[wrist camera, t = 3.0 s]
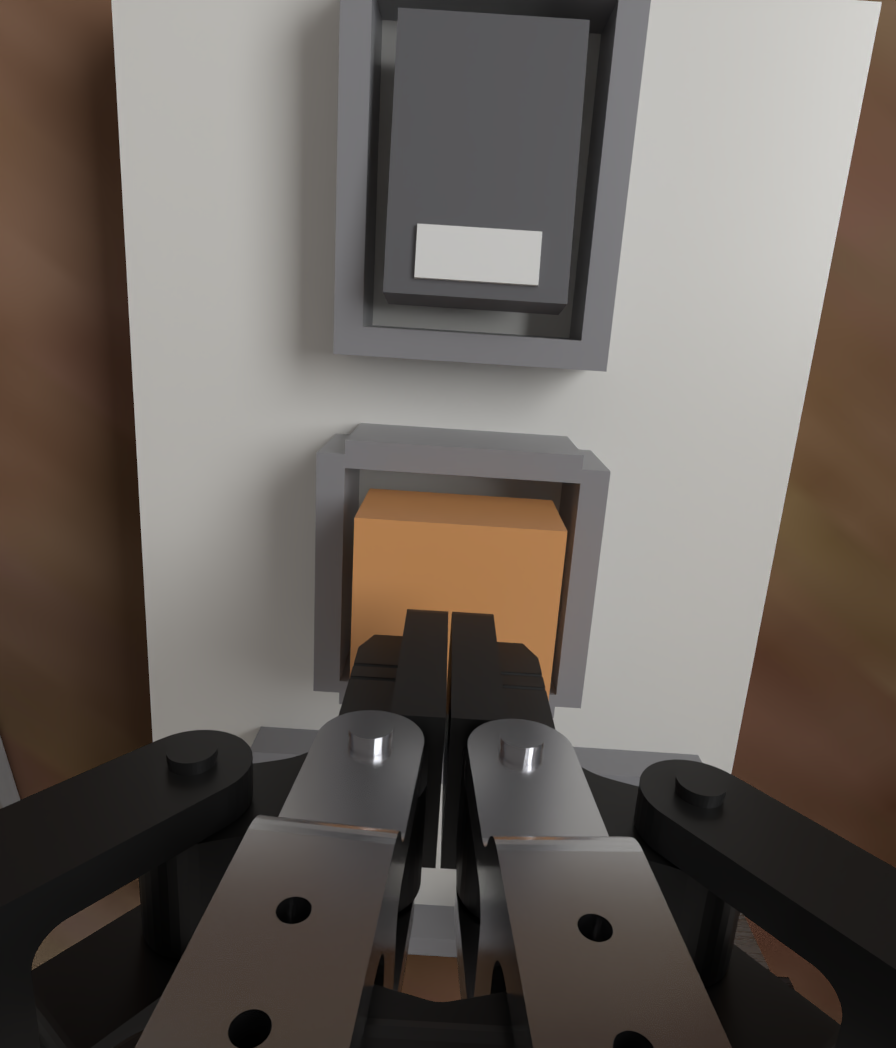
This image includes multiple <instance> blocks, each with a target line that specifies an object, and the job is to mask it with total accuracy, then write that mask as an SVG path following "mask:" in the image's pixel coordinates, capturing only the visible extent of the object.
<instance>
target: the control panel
mask: <svg viewBox="0 0 896 1048" xmlns="http://www.w3.org/2000/svg"><path fill="white" fill-rule="evenodd" d="M111 1H112V19H113V37H114V55H115V73H116V91H117V109H118V127H119V145H120V163H121V180H122V198H123V216H124V234H125V252H126V270H127V288H128V306H129V324H130V342H131V360H132V378H133V396H134V414H135V432H136V450H137V468H138V486H139V504H140V522H141V540H142V558H143V575H144V593H145V611H146V629H147V647H148V665H149V683H150V701H151V719H152V737H153V742H155V741H157V740H159V739H162V738H164V737H167V736H170V735H173V734H177V733H181V732H186V731H194V730H216V731H222V732H227V733H230V734H233V735H236V736H238V737H240V738H241V739H243V740H244V741H245V742H246V743H247V744H248V745H249V746H250V748H251V750H252V756H253V764H254V763H261V762H268V761H275V760H281V759H287V758H291V757H295V756H299V755H302V754H304V753H307V752H309V750H310V748H311V746H312V744H313V742H314V740H315V737H316V735H317V733H318V732H319V730H320V728H321V727H322V726H323V725H324V724H325V723H327V722H328V721H330V720H331V719H333V718H335V717H337V716H339V712H340V709H341V705H342V702H343V698H344V695H345V692H346V688H347V685H348V681H349V679H350V653H351V617H352V581H353V546H354V517H355V515H356V514H357V512H358V510H359V508H360V506H361V504H362V502H363V500H364V498H365V496H366V495H367V493H368V491H369V489H370V488H372V489H387V490H403V491H418V492H433V493H449V494H464V495H480V496H495V497H510V498H526V499H541V500H552V501H553V503H554V505H555V507H556V509H557V511H558V513H559V515H560V517H561V519H562V521H563V523H564V525H565V527H566V529H567V541H566V550H565V559H564V567H563V576H562V585H561V594H560V603H559V612H558V621H557V630H556V639H555V648H554V657H553V666H552V675H551V683H550V692H549V705H550V709H551V713H552V717H553V721H554V726H555V730H557V731H558V732H560V733H561V734H562V735H564V736H565V737H566V738H567V739H568V740H569V741H570V743H571V744H572V746H573V748H574V750H575V753H576V755H577V758H578V760H579V763H580V765H581V767H583V768H584V769H586V770H588V771H590V772H592V773H595V774H597V775H600V776H602V777H606V778H609V779H612V780H616V781H620V782H623V783H627V784H631V785H635V786H639V781H640V776H641V774H642V772H643V771H644V770H645V769H646V768H647V767H648V766H650V765H651V764H654V763H656V762H659V761H664V760H673V759H678V760H690V761H696V762H701V763H705V764H708V765H711V766H714V767H716V768H719V769H721V770H724V771H726V772H728V773H729V774H731V772H732V767H733V762H734V757H735V752H736V747H737V742H738V736H739V731H740V726H741V721H742V716H743V711H744V706H745V701H746V695H747V690H748V685H749V680H750V675H751V670H752V665H753V660H754V654H755V649H756V644H757V639H758V634H759V629H760V624H761V619H762V613H763V608H764V603H765V598H766V593H767V588H768V583H769V578H770V572H771V567H772V562H773V557H774V552H775V547H776V542H777V537H778V531H779V526H780V521H781V516H782V511H783V506H784V501H785V496H786V490H787V485H788V480H789V475H790V470H791V465H792V460H793V454H794V449H795V444H796V439H797V434H798V429H799V424H800V419H801V413H802V408H803V403H804V398H805V393H806V388H807V383H808V378H809V372H810V367H811V362H812V357H813V352H814V347H815V342H816V337H817V331H818V326H819V321H820V316H821V311H822V306H823V301H824V296H825V290H826V285H827V280H828V275H829V270H830V265H831V260H832V255H833V249H834V244H835V239H836V234H837V229H838V224H839V219H840V213H841V208H842V203H843V198H844V193H845V188H846V183H847V178H848V172H849V167H850V162H851V157H852V152H853V147H854V142H855V137H856V131H857V126H858V121H859V116H860V111H861V106H862V101H863V96H864V90H865V85H866V80H867V75H868V70H869V65H870V60H871V55H872V49H873V44H874V39H875V34H876V29H877V24H878V19H879V14H880V8H881V3H882V2H873V1H857V0H111ZM398 8H413V9H429V10H444V11H460V12H475V13H490V14H506V15H521V16H537V17H552V18H568V19H583V20H590V25H589V38H588V50H587V63H586V75H585V88H584V100H583V113H582V125H581V138H580V151H579V163H578V176H577V188H576V201H575V213H574V226H573V239H572V251H571V264H570V276H569V289H568V301H567V305H566V306H565V308H564V309H563V310H562V311H561V313H560V314H559V315H550V314H535V313H520V312H504V311H489V310H473V309H458V308H442V307H427V306H412V305H396V304H388V302H387V300H386V298H385V296H384V293H383V281H384V262H385V244H386V225H387V207H388V188H389V169H390V151H391V132H392V113H393V95H394V76H395V58H396V39H397V20H398ZM443 755H444V752H443ZM442 792H443V767H442V782H441V796H440V811H439V825H438V840H437V854H436V868H422V871H421V884H420V889H419V892H418V894H417V896H416V897H415V900H414V916H413V924H412V930H411V936H410V942H409V948H408V954H414V955H430V956H445V957H457V951H456V940H455V929H454V907H455V894H456V869H442V868H440V865H441V829H442Z"/></svg>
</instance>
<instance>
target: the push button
mask: <svg viewBox="0 0 896 1048" xmlns="http://www.w3.org/2000/svg"><path fill="white" fill-rule="evenodd" d="M566 541H567V529H566V527H565V525H564V523H563V521H562V519H561V517H560V515H559V513H558V511H557V509H556V507H555V505H554V503H553V501H552V500H541V499H526V498H510V497H495V496H480V495H464V494H449V493H433V492H418V491H403V490H387V489H372V488H370V489H369V491H368V493H367V495H366V496H365V498H364V500H363V502H362V504H361V506H360V508H359V510H358V512H357V514H356V515H355V517H354V546H353V581H352V617H351V653H350V674H351V671H352V668H353V666H354V661H355V657H356V654H357V650H358V647H359V646H360V645H362V644H363V643H364V642H366V641H367V640H368V639H369V638H371V637H372V636H373V635H392V636H403V631H404V625H405V619H406V613H407V609H418V610H434V611H448V651H447V674H448V659H449V644H450V630H451V617H452V612H468V613H485V614H493V615H494V622H495V630H496V637H497V642H508V643H523V644H524V645H525V646H526V647H527V648H528V649H529V650H530V651H531V652H532V653H534V654H535V655H536V656H537V657H538V659H539V663H540V667H541V671H542V677H543V680H544V684H545V691H546V692H547V696H548V701H549V692H550V683H551V675H552V666H553V657H554V648H555V639H556V630H557V621H558V612H559V603H560V594H561V585H562V576H563V567H564V559H565V550H566Z"/></svg>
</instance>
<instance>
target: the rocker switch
mask: <svg viewBox="0 0 896 1048" xmlns="http://www.w3.org/2000/svg"><path fill="white" fill-rule="evenodd" d="M589 25H590V20H583V19H568V18H552V17H537V16H521V15H506V14H490V13H475V12H460V11H444V10H429V9H413V8H398V20H397V39H396V58H395V76H394V95H393V113H392V132H391V151H390V169H389V188H388V207H387V225H386V244H385V262H384V281H383V293H384V296H385V298H386V300H387V302H388V304H396V305H412V306H427V307H442V308H458V309H473V310H489V311H504V312H520V313H535V314H550V315H559V314H560V313H561V311H562V310H563V309H564V308H565V306H566V305H567V301H568V289H569V276H570V264H571V251H572V239H573V226H574V213H575V201H576V188H577V176H578V163H579V151H580V138H581V125H582V113H583V100H584V88H585V75H586V63H587V50H588V38H589Z"/></svg>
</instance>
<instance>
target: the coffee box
mask: <svg viewBox="0 0 896 1048" xmlns="http://www.w3.org/2000/svg"><path fill="white" fill-rule="evenodd" d="M17 801H20V797H19V794H18V791H17V788H16V784H15V781H14V778H13V775H12V771H11V768H10V765H9V762H8V759H7V755H6V752H5V749H4V746H3V743H2V739H1V736H0V809H1V808H4V807H6V806H8V805H10V804H13V803H15V802H17Z"/></svg>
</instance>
